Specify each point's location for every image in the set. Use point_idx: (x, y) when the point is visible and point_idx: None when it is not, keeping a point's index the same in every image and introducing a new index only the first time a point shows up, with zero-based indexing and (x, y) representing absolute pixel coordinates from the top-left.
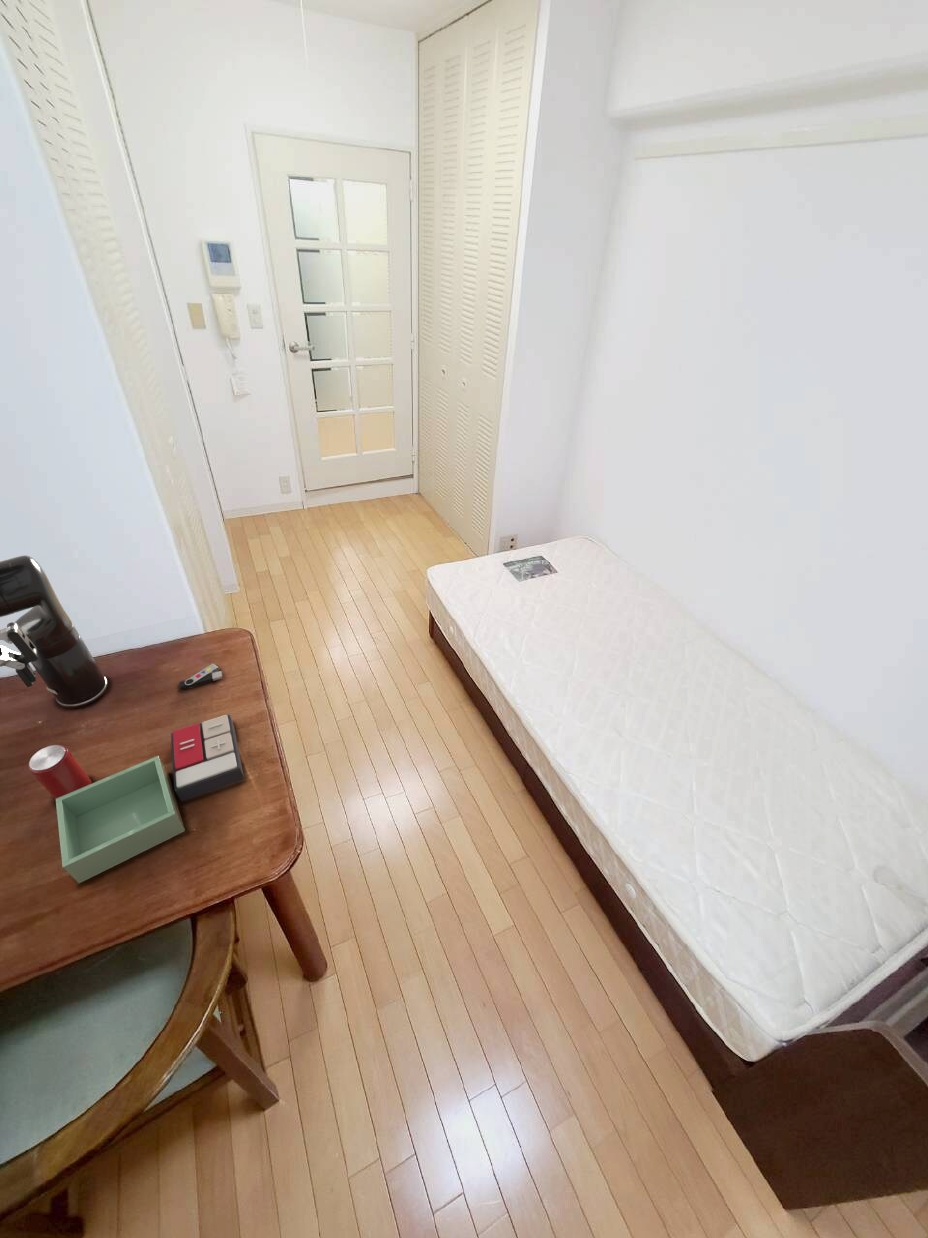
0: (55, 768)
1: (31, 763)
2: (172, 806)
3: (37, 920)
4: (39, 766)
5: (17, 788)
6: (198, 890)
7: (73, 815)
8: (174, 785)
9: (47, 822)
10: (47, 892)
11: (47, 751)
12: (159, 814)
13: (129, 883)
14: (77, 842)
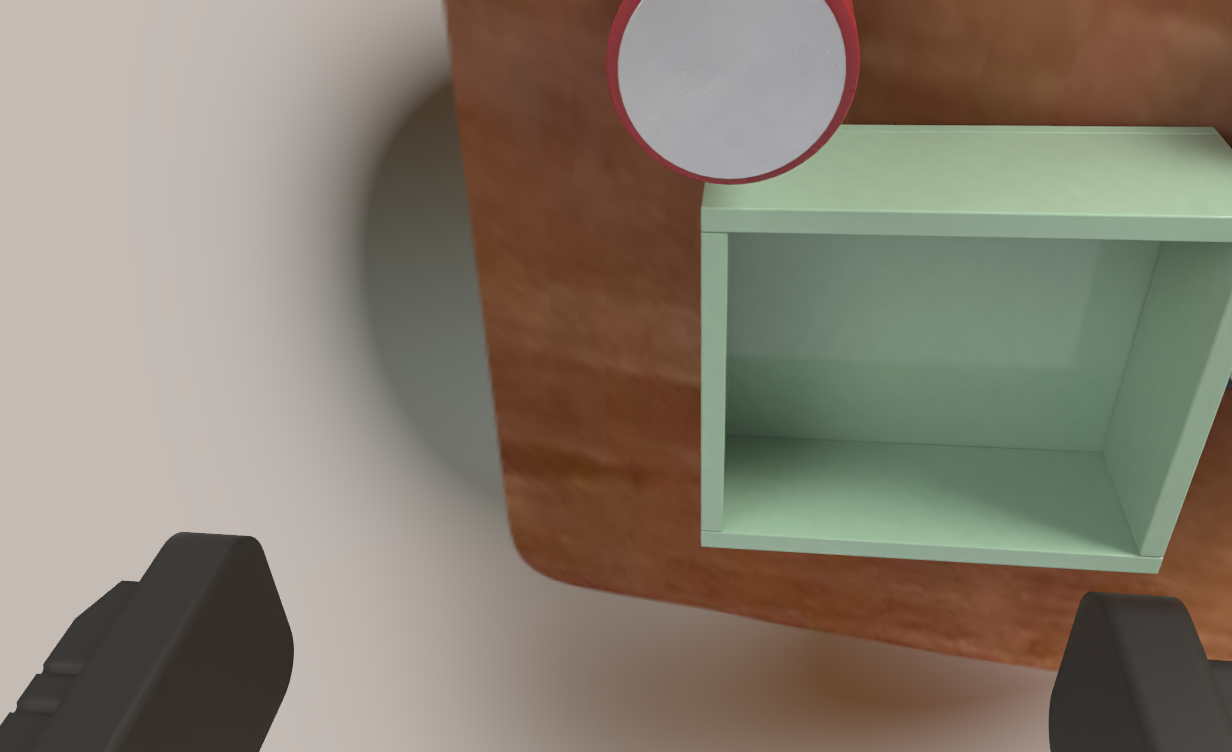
0: (762, 177)
1: (631, 76)
2: (1169, 538)
3: (576, 472)
4: (677, 132)
5: None
6: (1042, 643)
7: None
8: None
9: (606, 82)
10: (605, 403)
11: (736, 14)
12: (1066, 346)
13: None
14: (731, 319)
